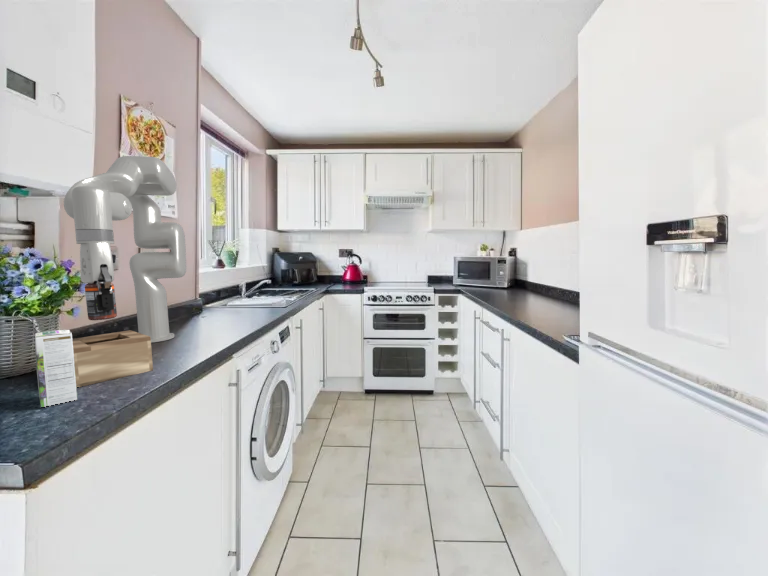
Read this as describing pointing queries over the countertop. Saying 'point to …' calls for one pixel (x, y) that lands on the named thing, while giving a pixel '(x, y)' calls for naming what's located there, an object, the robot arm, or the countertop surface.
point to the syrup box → (55, 367)
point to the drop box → (111, 356)
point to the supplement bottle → (92, 303)
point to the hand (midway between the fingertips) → (101, 308)
